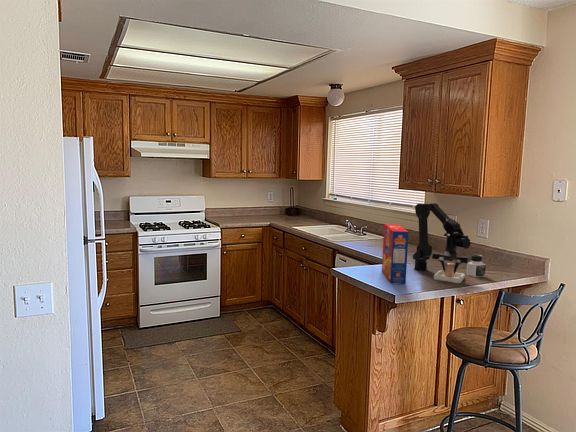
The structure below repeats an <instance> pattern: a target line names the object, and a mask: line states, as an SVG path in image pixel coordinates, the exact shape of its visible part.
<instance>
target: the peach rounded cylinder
mask: <svg viewBox="0 0 576 432" xmlns="http://www.w3.org/2000/svg"><path fill="white" fill-rule="evenodd" d="M454 269H455V263H453V262H446V263H445V276H446V277H454Z"/></svg>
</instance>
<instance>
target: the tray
mask: <svg viewBox="0 0 576 432" xmlns="http://www.w3.org/2000/svg"><path fill="white" fill-rule="evenodd" d="M465 274H466V273H462V272H456V273H455V274H454V277H446V276H445V272H444V270H438V271H437V272H436V273H435V274H433V280H435V281H441V282H449V283H453V284H461V283H462V282H463V280H465V276H466V275H465Z"/></svg>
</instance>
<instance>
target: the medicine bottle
mask: <svg viewBox="0 0 576 432" xmlns="http://www.w3.org/2000/svg"><path fill="white" fill-rule="evenodd" d="M470 256H471V257H470V261H469V262H468V263H466V273H465V274H466V275H467V276H470V277H473V278H482V277H485V276H486V267H487V266H486V265H487V264H486V263H483V255H481V254H472V255H470Z"/></svg>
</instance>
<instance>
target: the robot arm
mask: <svg viewBox="0 0 576 432" xmlns="http://www.w3.org/2000/svg"><path fill="white" fill-rule="evenodd" d="M414 210H415V216H416V217H417V218H418V240H419V241H418V244H417V247H416V251H415V253H414V254H413V255H412V259H413V260H414V268H413V270H415V271H423V272H425V271H427V270H428V266H429V265H428V264H429V263H428V260H430V259H433V260H437V261H438V262H440V263H441V266H442V269H443V270H442V271H444V272H445V263H447V261H449V262H453V261H455V262H454V264H455V269H454V274H455V273H457V270H458V267H459V266H460V265H461V264H467V263H468V262H470V257H469V256H466V255H461V256H458V252H457V250H458V248H460V249H461V248H462V249H466V250H467V249H469V248H470V246H471V239H470V238H469V235H465V234H464V232H463V230H462V227H461V224H460V223H459V222H458V221H456V220H455V219H452V218H450V217H449V216H448V214H447V213H445V211H444V210H443V209H442V208H441V206H439V204H438V203H436V202H434V203H433V202H430V203H428V202H427V203H416V204H415V207H414ZM431 213H432V214H433V215H434V216H435V217H436V218H437V219H438V220H439V221H440V222H441V223H442V227H443V230H445V231H444V232H445V233H444V234H443V236H444V237H446V239H445V240H446V241H445V250H444V252H443V253H442V252H436V251H435V252H434V253H433V245H430V243H429V233H428V231H429V230H428V228H429V227H428V218H429V216H430V214H431ZM432 253H433V254H432Z"/></svg>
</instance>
